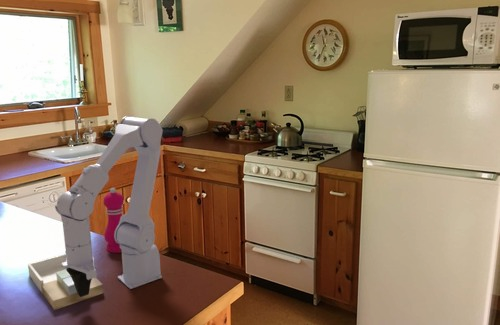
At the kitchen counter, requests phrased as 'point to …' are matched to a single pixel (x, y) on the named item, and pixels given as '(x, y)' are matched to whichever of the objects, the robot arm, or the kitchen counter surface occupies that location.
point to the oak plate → (62, 298)
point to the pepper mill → (113, 218)
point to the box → (46, 270)
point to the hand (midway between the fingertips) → (83, 294)
